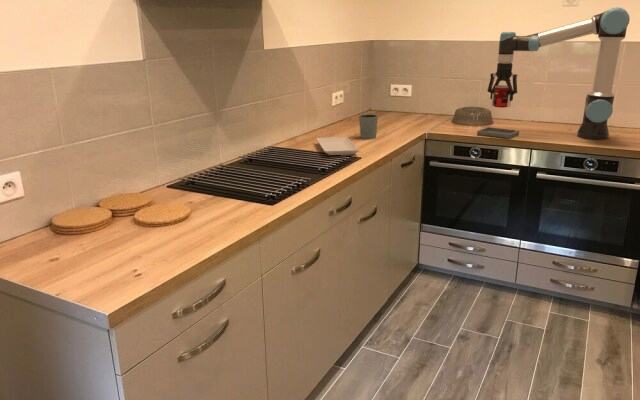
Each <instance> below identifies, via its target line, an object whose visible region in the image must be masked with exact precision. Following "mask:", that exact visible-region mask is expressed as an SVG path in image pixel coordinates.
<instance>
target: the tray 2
mask: <svg viewBox="0 0 640 400" xmlns="http://www.w3.org/2000/svg"><path fill="white" fill-rule="evenodd" d="M519 135H520V130H518V129H510V128H509V129H508V128H499V127H491V126H486V127H484V128H481V129H478V130H477V132H476V136H479V137H488V138H494V137H495V138H496V139H503V140H511V139H513V137H514V138H515V136H516V137H518V136H519ZM495 138H494V139H495Z"/></svg>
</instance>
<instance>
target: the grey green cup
mask: <svg viewBox="0 0 640 400" xmlns="http://www.w3.org/2000/svg"><path fill="white" fill-rule="evenodd" d="M358 118H359V119H358V121H359V133H360V134H359V135H360V139H363V140H374V139H376V138H377V130H378V119H379V116H378V114H373V113H365V114H361V115H358Z"/></svg>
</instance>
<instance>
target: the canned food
mask: <svg viewBox="0 0 640 400" xmlns="http://www.w3.org/2000/svg"><path fill="white" fill-rule="evenodd" d="M509 94H510V92H509V87H508V86H507V84H505V85H504V84H498V86H495V90H494V101H493V106H492V107H494V108H500V109H501V108H505V109H506V108H508V107H507V103H508V95H509Z"/></svg>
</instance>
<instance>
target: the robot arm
mask: <svg viewBox="0 0 640 400" xmlns="http://www.w3.org/2000/svg"><path fill="white" fill-rule="evenodd" d="M630 19H631V18H630V14H629V12H628V11H627V10H626V9H624V8H622V7H612V8H609V9H607V10H606V11H603V12H600V13H599V14H595V15H592V16H591V18H586V19H585V20H581V21H577V22H576V21H575V22H573V23H569V24H566V25H565V24H564V25H561V26H558V27H555V28H551V29H548V30H543V31H539V32H536V33H533V34H528V35H516V32H515V31H502V32H501V33H500V37H499V43H498V54H497V55H498V56H497V62H498V63H497V66H496V72H491V73H490V78H489V83H488V88H487V92H488V93H490V98H489V99H490V100H491V104H490V105H491V107H494V106H493V101H494V90H495V86H498V85H500V84H501V83H500V82H502V81H503V82H505V83H506V85H507V86H508V87H509V92H510V94H509V95H508V103H507V107H506V108H510V107H511V103H512V101H514V95H515V94H518V81H517V79H518V74H517V73H513V72H512V71H513V61H514V53H515V52H538V51H539V49H540V48H543V47H546V46H549V45H554V44H557V43H561V42H566V41H571V40H573V39H577V38H582V37H586V36H588V35H596V36H597V38H598V39H599V41H600V44H599V50H598V56H597V59H596V67H595V73H594V79H593V85H592V90H591V91H590V92H589V93H587V94H586V96H585V103H584V110H583V115H582V116H583V117H582V122H581V124H580V126H579V128H578V130H577V132H576V137H579V138H580V139H581V138H582V139H585V140H587V139H588V140H607V139H609V136H610V132H609V126H608V120H609V119H610V118H611V117H612V114H613V112H614V111H613V109H614V108H613V106H614V99H615V94H614V93H613V85H614V80H615V75H616V74H615V73H616V70H617V64H618V58H619V53H620V48H621V42H622V41H623V40H625V39H626V34H627V29H628V26H629V24H630ZM495 78H496V80H495ZM510 78H512V83H511V79H510Z"/></svg>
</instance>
